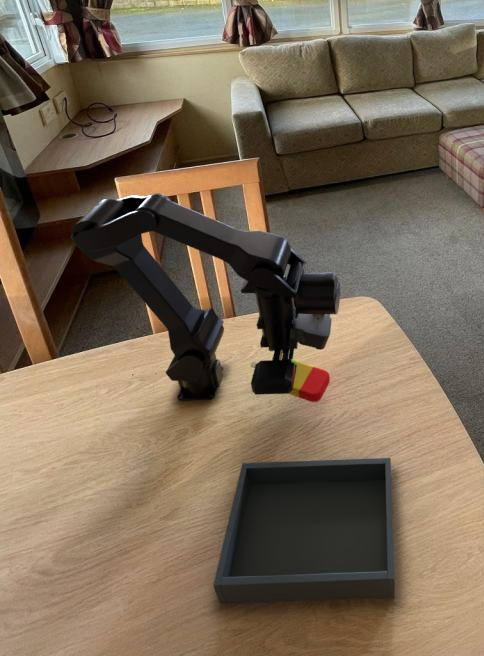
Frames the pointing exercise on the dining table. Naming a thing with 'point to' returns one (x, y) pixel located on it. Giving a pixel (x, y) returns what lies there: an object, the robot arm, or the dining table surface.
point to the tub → (309, 533)
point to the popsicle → (308, 381)
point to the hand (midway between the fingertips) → (287, 374)
